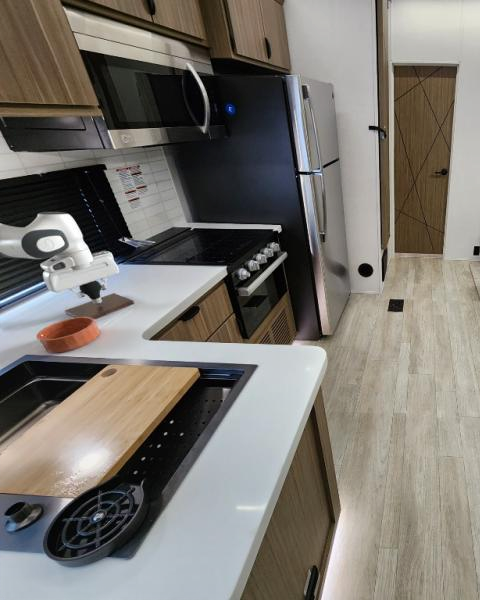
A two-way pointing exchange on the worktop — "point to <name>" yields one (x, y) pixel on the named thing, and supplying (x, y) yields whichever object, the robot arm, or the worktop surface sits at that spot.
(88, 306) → the board
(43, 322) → the worktop surface
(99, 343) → the worktop surface
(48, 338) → the bowl
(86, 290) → the black bulb silver base
